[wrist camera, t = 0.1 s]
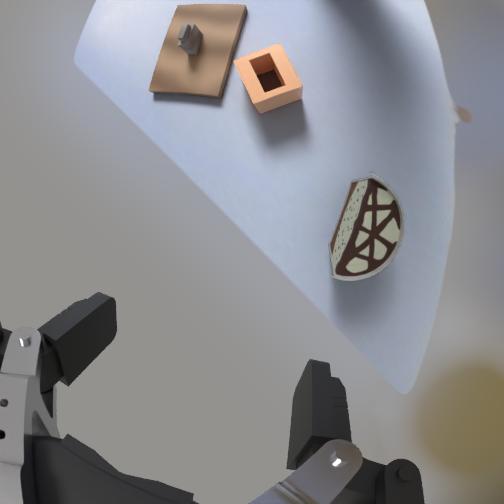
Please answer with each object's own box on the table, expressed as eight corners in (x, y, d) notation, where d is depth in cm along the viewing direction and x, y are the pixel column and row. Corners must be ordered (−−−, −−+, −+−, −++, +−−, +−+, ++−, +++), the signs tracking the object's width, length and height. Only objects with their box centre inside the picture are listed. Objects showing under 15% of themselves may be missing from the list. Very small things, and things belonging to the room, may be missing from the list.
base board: (181, 9, 30) (164, -9, 23) (247, 9, 29) (238, -13, 23) (153, 92, 35) (130, 83, 28) (221, 98, 34) (206, 85, 28)
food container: (363, 268, 37) (381, 299, 28) (324, 254, 38) (332, 283, 28) (394, 187, 34) (424, 194, 24) (354, 170, 34) (374, 171, 24)
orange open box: (242, 75, 32) (233, 60, 27) (283, 60, 31) (280, 43, 25) (260, 114, 34) (253, 104, 28) (301, 99, 32) (302, 86, 27)
